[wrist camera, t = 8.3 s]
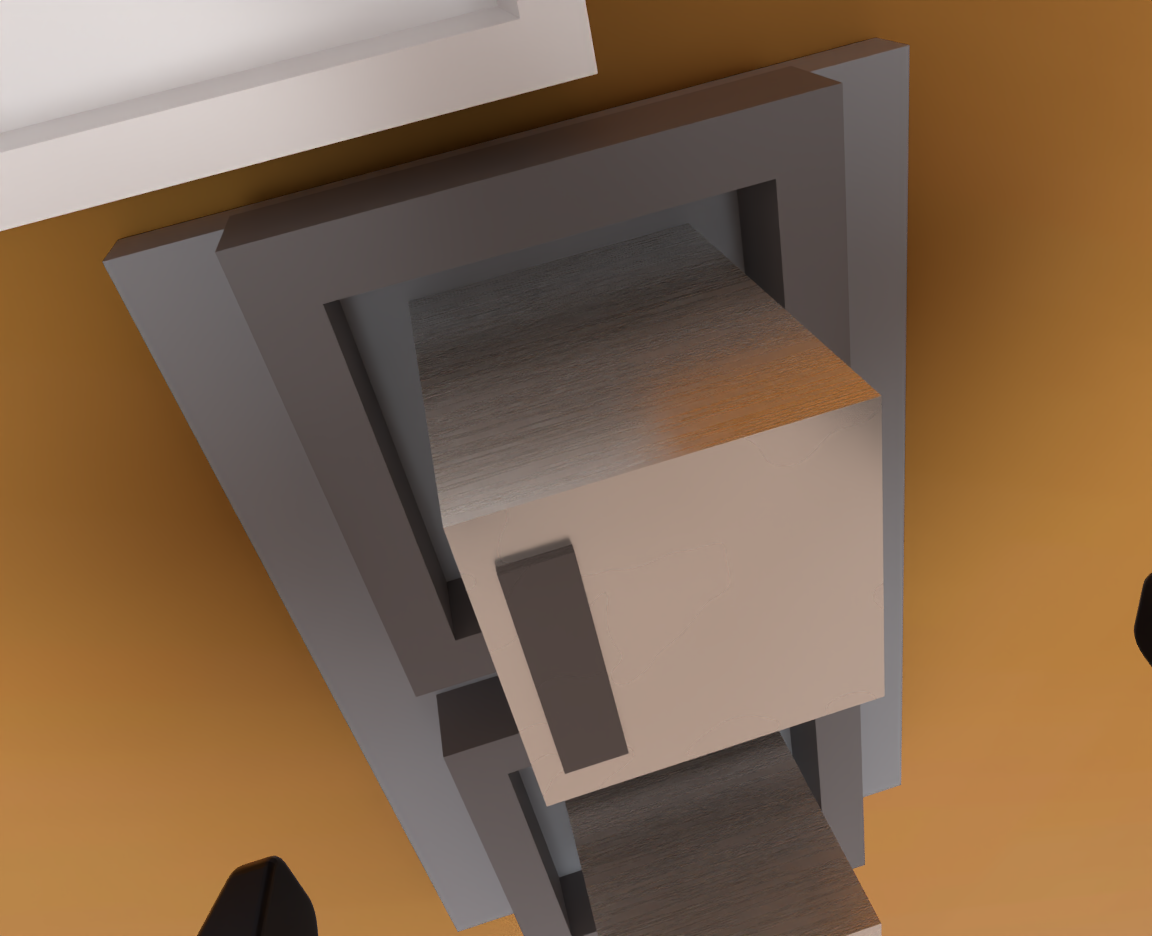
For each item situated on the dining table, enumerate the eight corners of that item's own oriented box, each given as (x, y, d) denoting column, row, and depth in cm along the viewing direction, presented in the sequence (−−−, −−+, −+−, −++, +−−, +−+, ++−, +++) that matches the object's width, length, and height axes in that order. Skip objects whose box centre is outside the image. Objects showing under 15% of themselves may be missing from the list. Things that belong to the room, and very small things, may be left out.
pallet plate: (875, 27, 14) (973, 47, 12) (881, 758, 24) (934, 840, 22) (113, 230, 13) (66, 292, 11) (455, 898, 23) (466, 999, 21)
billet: (744, 664, 19) (884, 931, 14) (760, 788, 22) (886, 1053, 17) (546, 726, 19) (619, 1022, 14) (587, 845, 21) (660, 1133, 16)
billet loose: (687, 222, 14) (888, 401, 9) (719, 457, 16) (889, 703, 11) (407, 301, 13) (444, 536, 8) (484, 528, 16) (549, 815, 11)
